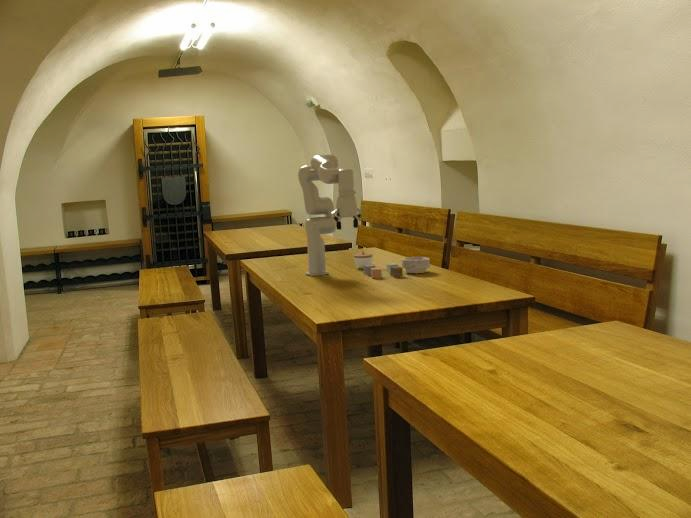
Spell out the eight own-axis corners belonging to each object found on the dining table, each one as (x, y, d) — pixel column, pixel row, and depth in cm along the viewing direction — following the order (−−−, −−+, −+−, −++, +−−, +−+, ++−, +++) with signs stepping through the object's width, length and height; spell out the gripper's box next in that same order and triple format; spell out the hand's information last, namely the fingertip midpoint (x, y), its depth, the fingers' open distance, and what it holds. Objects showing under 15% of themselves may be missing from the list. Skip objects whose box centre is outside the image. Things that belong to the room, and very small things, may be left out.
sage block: (386, 272, 392) (386, 263, 391) (395, 271, 393) (394, 262, 393) (389, 274, 387) (389, 265, 386) (398, 273, 389) (398, 264, 388)
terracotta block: (371, 277, 380) (370, 268, 379) (380, 276, 380) (380, 267, 379) (372, 278, 375) (371, 269, 374) (381, 278, 375) (381, 269, 374)
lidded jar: (376, 267, 411) (375, 251, 410) (366, 269, 402) (366, 253, 401) (360, 265, 417) (360, 250, 415) (350, 268, 408) (350, 252, 406)
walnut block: (391, 276, 380) (390, 267, 380) (399, 275, 381) (399, 266, 381) (393, 277, 376) (393, 268, 375) (402, 277, 377) (402, 267, 376)
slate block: (363, 274, 389) (363, 265, 388) (371, 273, 391) (371, 264, 390) (367, 275, 384) (366, 266, 384) (375, 274, 386) (375, 265, 386)
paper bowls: (422, 269, 398) (422, 255, 397) (434, 273, 384) (434, 259, 382) (397, 271, 393) (397, 257, 392) (408, 276, 379) (408, 261, 378)
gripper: (357, 192, 358) (358, 226, 360) (327, 194, 349) (328, 229, 351) (365, 193, 351) (366, 227, 354) (335, 195, 342) (336, 230, 345)
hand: (347, 228), depth 353 cm, fingers open, 9 cm apart
